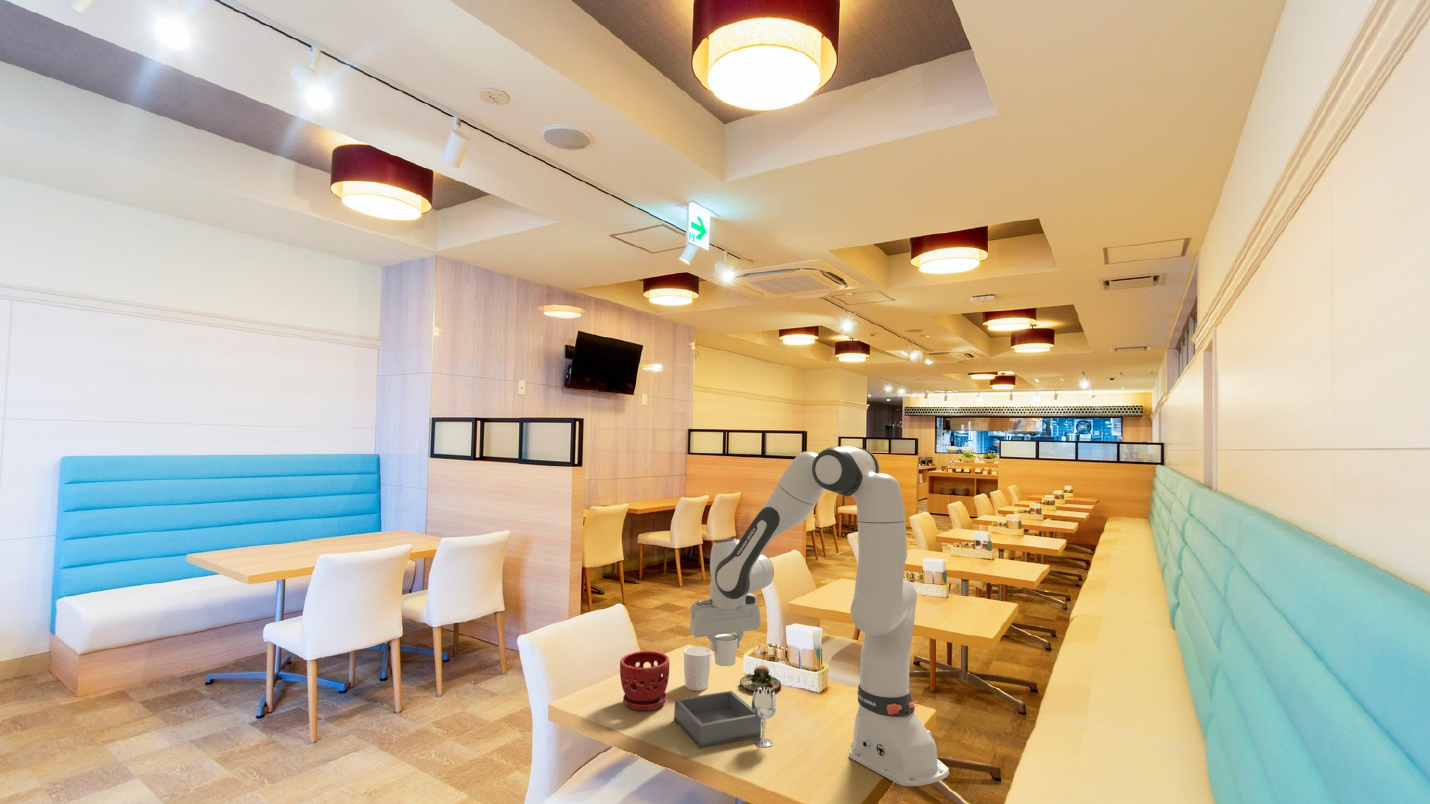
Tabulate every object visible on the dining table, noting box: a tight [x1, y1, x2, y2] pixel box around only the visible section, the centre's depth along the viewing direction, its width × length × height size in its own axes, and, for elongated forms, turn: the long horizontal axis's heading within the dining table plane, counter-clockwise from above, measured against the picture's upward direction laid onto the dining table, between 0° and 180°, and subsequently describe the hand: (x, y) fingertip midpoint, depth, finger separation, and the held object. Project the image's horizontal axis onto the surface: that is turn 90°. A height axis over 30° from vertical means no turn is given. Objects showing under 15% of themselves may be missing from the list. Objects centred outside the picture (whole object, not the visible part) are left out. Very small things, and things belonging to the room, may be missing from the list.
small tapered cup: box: [713, 633, 738, 667], centre depth 177 cm, size 7×7×7 cm
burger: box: [739, 659, 782, 692], centre depth 187 cm, size 12×12×8 cm
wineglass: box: [751, 687, 777, 748], centre depth 153 cm, size 6×6×12 cm
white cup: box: [683, 646, 712, 692], centre depth 186 cm, size 8×8×10 cm
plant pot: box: [619, 650, 670, 711], centre depth 173 cm, size 13×13×12 cm
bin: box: [673, 690, 762, 749], centre depth 160 cm, size 16×16×5 cm
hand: (725, 649), depth 177 cm, fingers closed on small tapered cup, 5 cm apart
